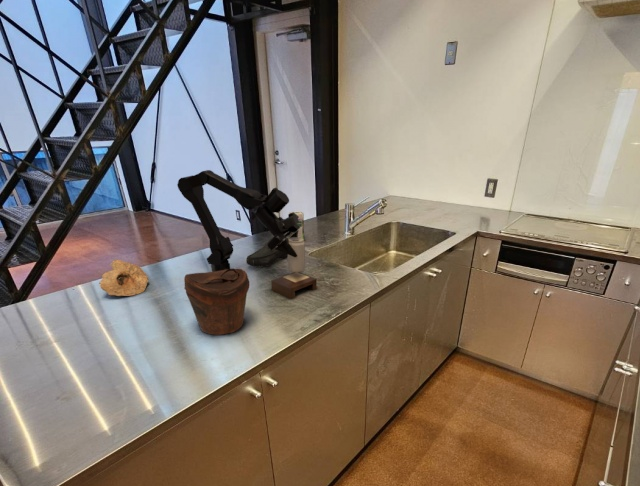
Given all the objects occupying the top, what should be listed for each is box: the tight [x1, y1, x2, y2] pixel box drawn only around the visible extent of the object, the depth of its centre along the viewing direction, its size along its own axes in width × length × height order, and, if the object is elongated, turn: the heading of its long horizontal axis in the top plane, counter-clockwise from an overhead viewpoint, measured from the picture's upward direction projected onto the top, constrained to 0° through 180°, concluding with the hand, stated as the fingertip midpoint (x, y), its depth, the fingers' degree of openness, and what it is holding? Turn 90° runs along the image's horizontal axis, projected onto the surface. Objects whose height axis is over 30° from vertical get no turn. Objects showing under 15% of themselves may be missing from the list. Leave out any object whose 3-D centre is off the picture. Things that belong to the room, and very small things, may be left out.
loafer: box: [246, 237, 288, 268], centre depth 168 cm, size 10×29×10 cm, turn 152°
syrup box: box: [288, 210, 305, 240], centre depth 196 cm, size 6×6×14 cm
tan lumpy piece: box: [98, 258, 150, 297], centre depth 139 cm, size 18×14×8 cm
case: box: [183, 268, 250, 336], centre depth 114 cm, size 18×20×18 cm
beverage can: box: [287, 237, 306, 273], centre depth 140 cm, size 6×6×12 cm
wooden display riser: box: [270, 272, 317, 300], centre depth 142 cm, size 13×11×4 cm
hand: (299, 253), depth 139 cm, fingers closed on beverage can, 6 cm apart
